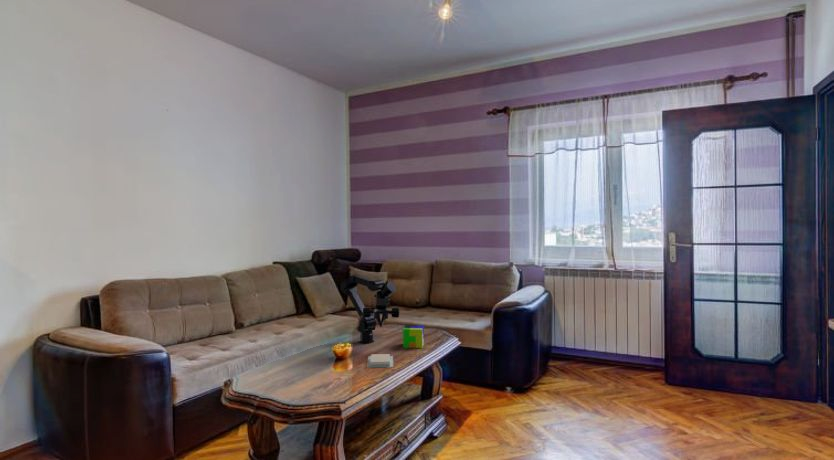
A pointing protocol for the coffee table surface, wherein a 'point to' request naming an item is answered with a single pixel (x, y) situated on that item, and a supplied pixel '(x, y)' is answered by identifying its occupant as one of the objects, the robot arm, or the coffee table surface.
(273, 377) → the coffee table surface
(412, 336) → the puzzle toy
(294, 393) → the coffee table surface
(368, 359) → the mat
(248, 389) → the coffee table surface
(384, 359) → the tile
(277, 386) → the coffee table surface
